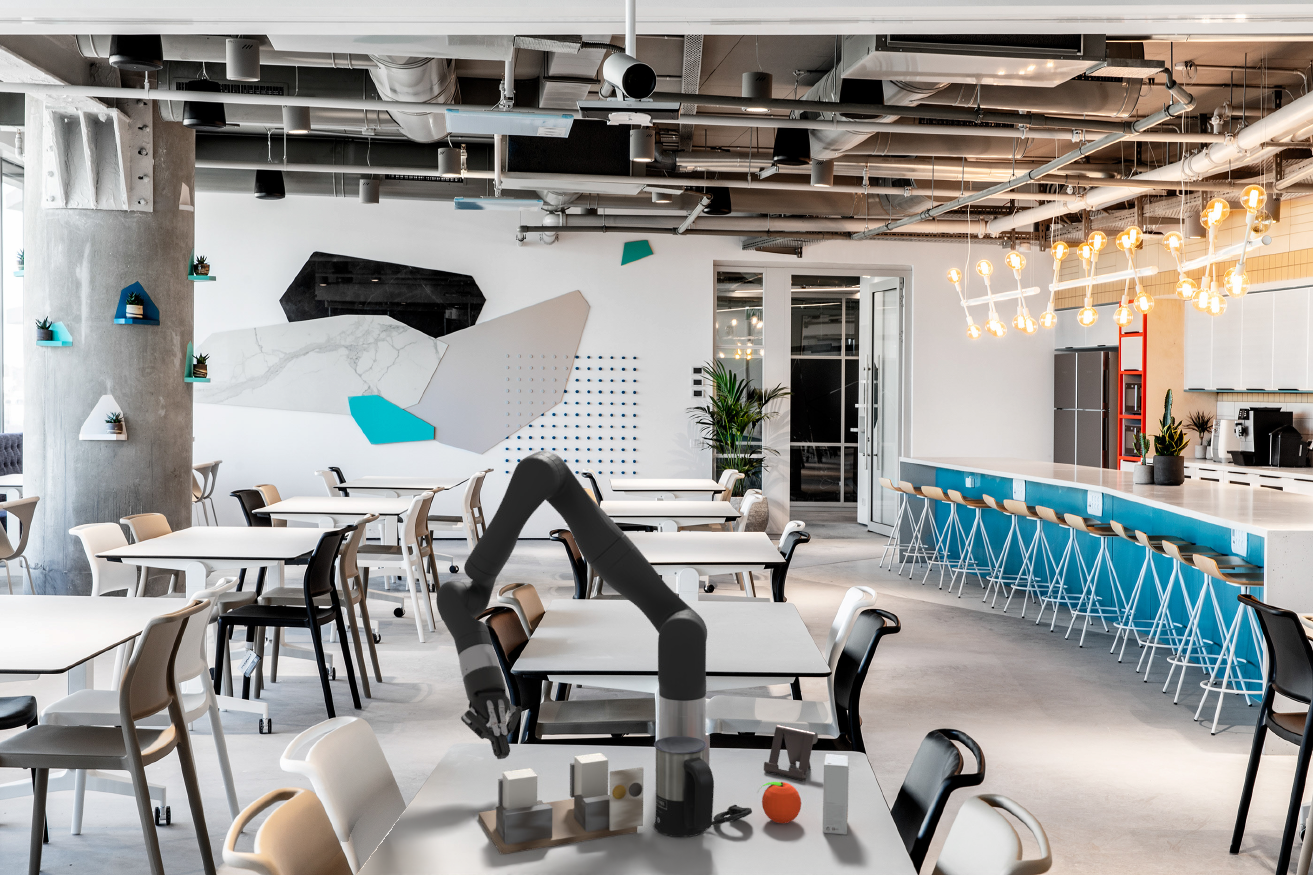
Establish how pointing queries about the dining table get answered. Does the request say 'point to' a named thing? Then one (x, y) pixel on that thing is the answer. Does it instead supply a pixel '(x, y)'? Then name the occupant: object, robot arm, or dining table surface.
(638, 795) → the button board
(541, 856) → the dining table surface
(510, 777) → the button
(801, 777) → the portable electronic device stand
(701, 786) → the milk frother
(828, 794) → the skincare box
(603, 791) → the button
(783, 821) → the clementine
